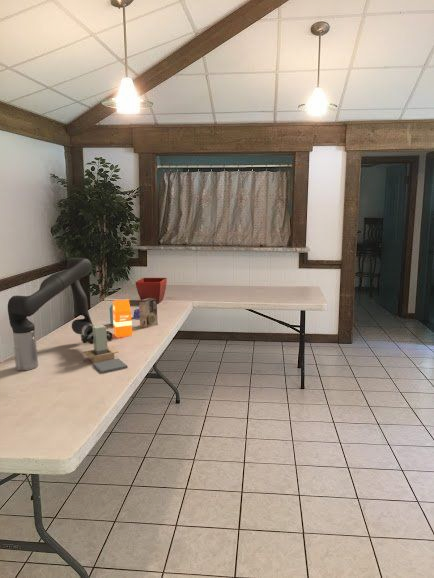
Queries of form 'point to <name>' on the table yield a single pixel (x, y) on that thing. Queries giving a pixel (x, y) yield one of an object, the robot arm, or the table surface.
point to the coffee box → (148, 312)
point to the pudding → (136, 314)
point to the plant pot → (151, 288)
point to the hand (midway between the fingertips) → (101, 340)
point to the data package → (111, 315)
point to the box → (100, 339)
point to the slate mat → (110, 365)
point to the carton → (101, 357)
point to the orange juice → (122, 318)
